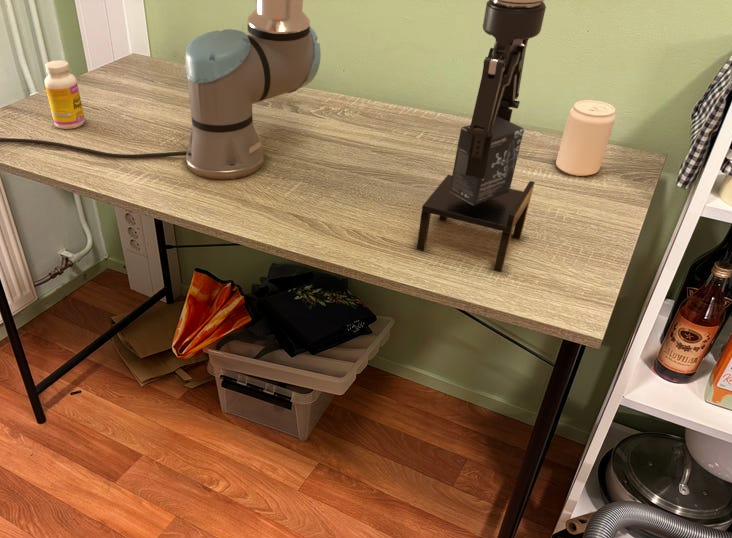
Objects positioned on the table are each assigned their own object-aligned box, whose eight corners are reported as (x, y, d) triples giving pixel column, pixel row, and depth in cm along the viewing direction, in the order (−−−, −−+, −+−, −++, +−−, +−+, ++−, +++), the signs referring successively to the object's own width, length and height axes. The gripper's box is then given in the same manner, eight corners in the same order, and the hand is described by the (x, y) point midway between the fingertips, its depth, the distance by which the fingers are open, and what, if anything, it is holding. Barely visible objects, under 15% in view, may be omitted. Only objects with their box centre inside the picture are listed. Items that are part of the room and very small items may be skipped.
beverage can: (550, 159, 135) (566, 99, 127) (591, 159, 135) (609, 99, 127) (561, 178, 129) (578, 116, 121) (604, 178, 129) (624, 116, 121)
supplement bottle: (81, 130, 148) (68, 69, 139) (51, 130, 148) (36, 69, 140) (88, 117, 153) (76, 58, 144) (59, 118, 153) (45, 58, 145)
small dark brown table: (416, 249, 111) (424, 193, 104) (441, 216, 119) (449, 163, 112) (500, 272, 106) (514, 215, 99) (521, 236, 114) (534, 181, 107)
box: (474, 207, 103) (487, 140, 96) (448, 192, 107) (459, 126, 99) (510, 193, 106) (525, 127, 99) (484, 179, 110) (497, 114, 103)
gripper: (524, 26, 80) (488, 199, 95) (565, -16, 94) (528, 140, 109) (462, 18, 82) (436, 187, 97) (511, -22, 97) (482, 131, 112)
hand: (485, 162), depth 103 cm, fingers closed on box, 9 cm apart
